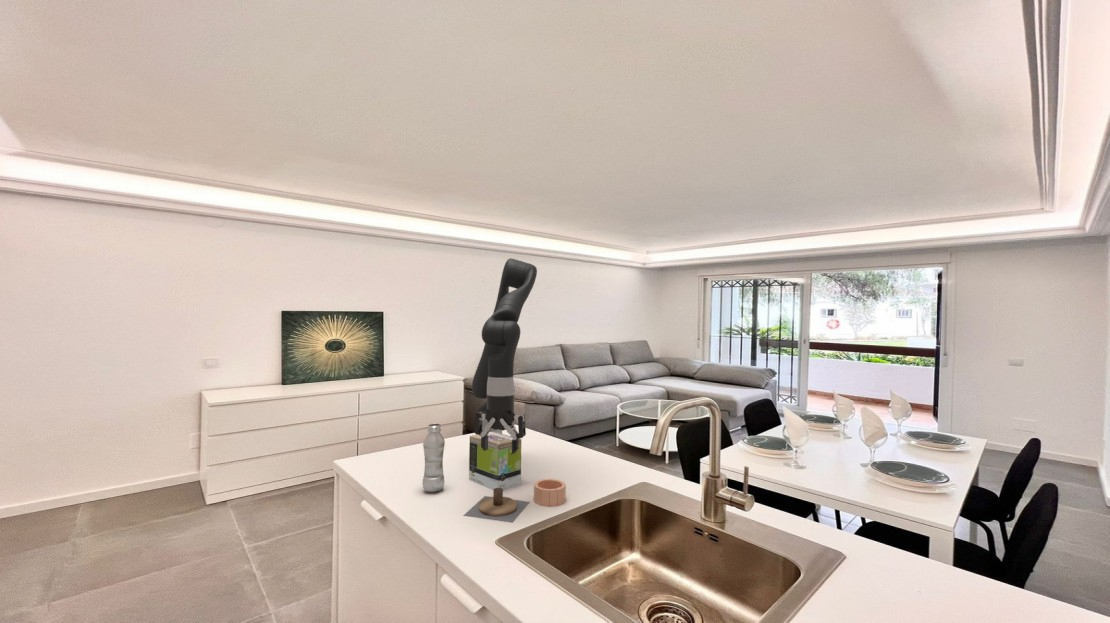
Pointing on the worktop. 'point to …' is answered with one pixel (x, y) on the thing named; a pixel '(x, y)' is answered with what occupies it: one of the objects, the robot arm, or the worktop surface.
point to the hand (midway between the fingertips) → (499, 451)
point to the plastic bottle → (433, 459)
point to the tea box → (494, 462)
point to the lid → (497, 504)
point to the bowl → (549, 492)
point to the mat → (508, 518)
